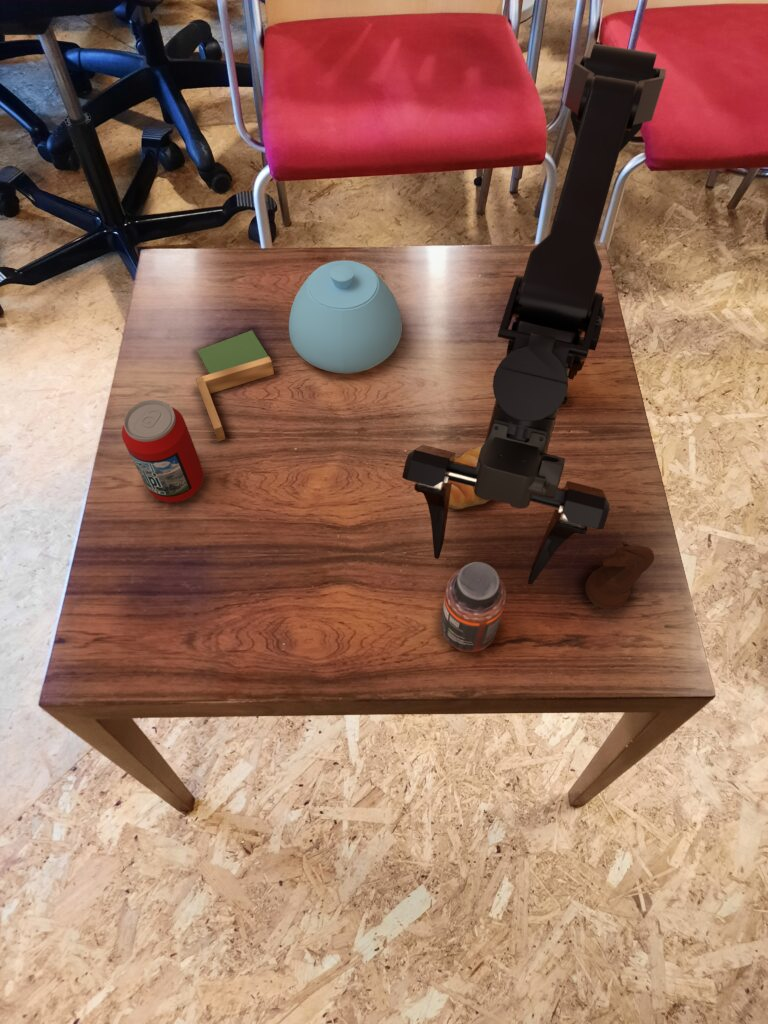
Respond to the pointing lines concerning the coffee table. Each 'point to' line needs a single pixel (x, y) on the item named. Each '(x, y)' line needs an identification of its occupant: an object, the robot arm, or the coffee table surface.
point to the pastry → (465, 493)
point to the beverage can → (162, 450)
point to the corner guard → (230, 385)
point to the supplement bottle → (472, 607)
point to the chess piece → (618, 575)
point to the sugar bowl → (344, 318)
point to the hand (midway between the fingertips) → (482, 570)
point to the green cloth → (232, 352)
